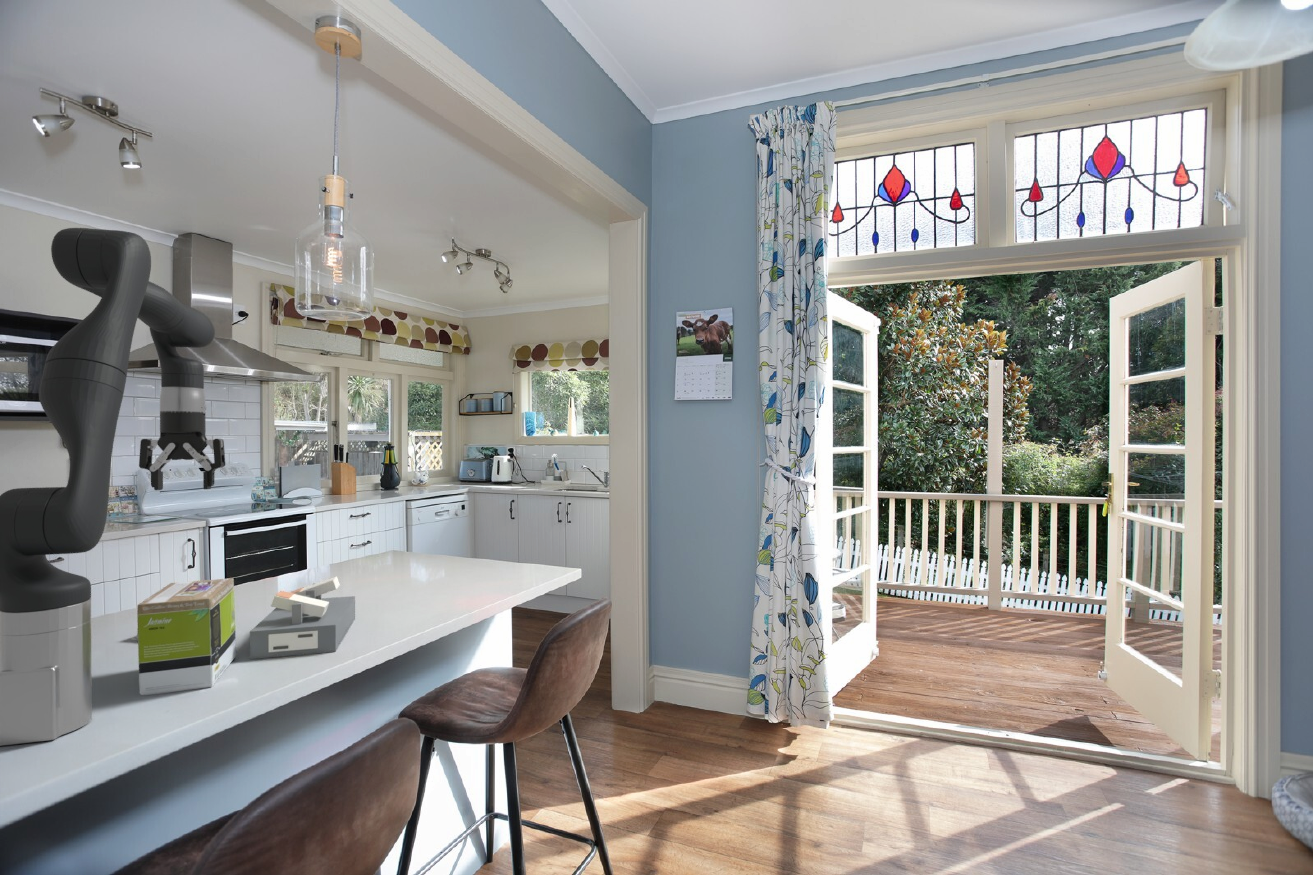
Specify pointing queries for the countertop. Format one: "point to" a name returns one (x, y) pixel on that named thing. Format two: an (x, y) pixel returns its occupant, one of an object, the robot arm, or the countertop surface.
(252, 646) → the console
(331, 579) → the rocker far
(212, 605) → the tea box
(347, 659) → the countertop surface
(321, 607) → the rocker near
